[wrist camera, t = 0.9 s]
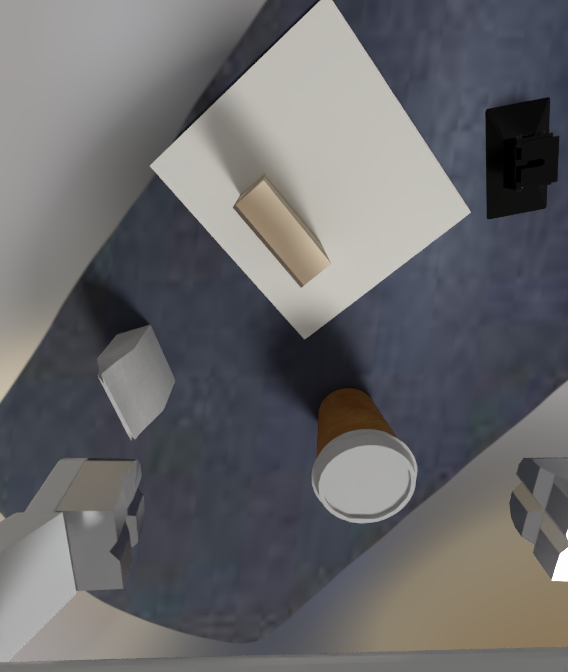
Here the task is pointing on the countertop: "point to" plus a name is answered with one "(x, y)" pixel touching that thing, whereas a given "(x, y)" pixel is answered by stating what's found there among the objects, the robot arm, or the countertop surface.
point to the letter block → (282, 230)
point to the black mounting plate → (519, 157)
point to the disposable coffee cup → (360, 460)
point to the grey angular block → (136, 378)
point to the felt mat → (315, 168)
